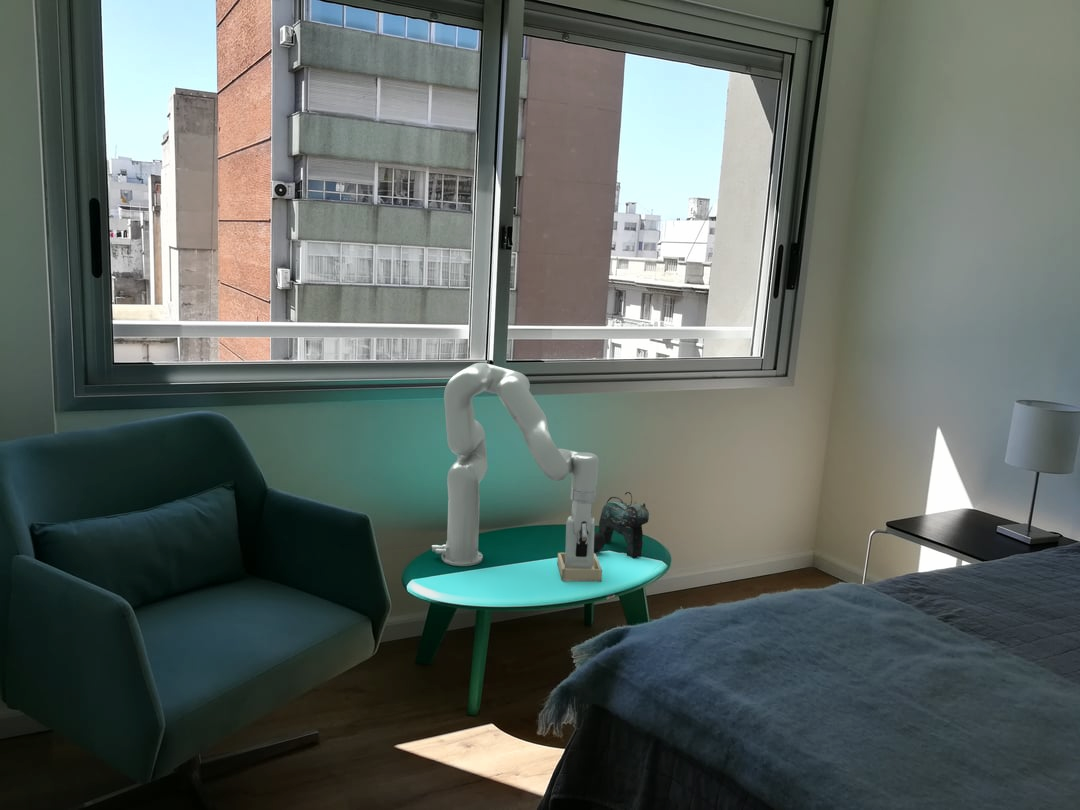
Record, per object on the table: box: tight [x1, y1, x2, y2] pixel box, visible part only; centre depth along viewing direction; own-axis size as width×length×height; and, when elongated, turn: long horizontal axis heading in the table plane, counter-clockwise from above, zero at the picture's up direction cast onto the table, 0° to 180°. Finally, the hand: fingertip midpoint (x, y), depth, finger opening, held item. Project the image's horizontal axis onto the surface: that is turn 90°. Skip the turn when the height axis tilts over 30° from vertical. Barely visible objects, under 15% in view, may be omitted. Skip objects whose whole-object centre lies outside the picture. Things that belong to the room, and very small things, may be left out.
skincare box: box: [564, 515, 596, 569], centre depth 256 cm, size 8×6×15 cm
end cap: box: [594, 531, 605, 554], centre depth 273 cm, size 10×7×7 cm
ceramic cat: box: [598, 491, 650, 559], centre depth 277 cm, size 20×6×20 cm, turn 35°
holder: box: [556, 552, 603, 583], centre depth 257 cm, size 12×14×4 cm
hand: (579, 551), depth 256 cm, fingers closed on skincare box, 6 cm apart
